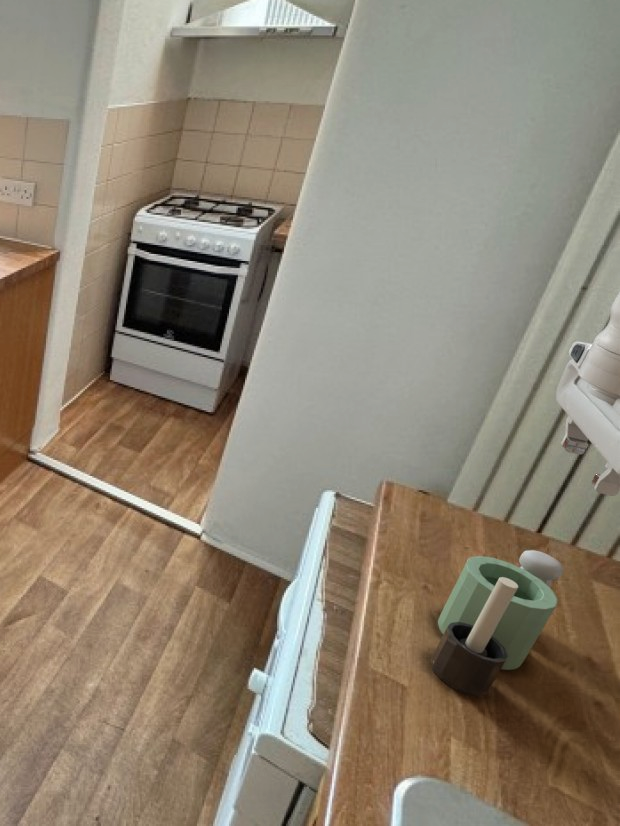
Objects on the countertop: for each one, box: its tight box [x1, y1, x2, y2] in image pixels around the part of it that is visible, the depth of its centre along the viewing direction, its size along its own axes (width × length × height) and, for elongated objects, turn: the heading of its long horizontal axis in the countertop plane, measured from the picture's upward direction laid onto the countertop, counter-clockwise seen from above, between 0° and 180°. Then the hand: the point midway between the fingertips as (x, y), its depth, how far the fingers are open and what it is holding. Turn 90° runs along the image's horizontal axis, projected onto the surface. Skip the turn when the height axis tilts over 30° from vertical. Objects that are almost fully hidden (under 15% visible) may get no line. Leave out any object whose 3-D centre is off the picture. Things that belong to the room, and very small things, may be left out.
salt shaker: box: [518, 549, 564, 589], centre depth 91 cm, size 6×6×13 cm
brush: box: [460, 577, 518, 657], centre depth 81 cm, size 3×3×17 cm
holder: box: [430, 622, 508, 698], centre depth 83 cm, size 6×6×7 cm
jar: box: [437, 555, 559, 671], centre depth 88 cm, size 9×9×12 cm
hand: (585, 469), depth 76 cm, fingers open, 8 cm apart
